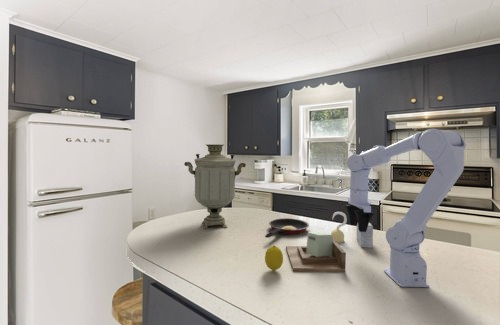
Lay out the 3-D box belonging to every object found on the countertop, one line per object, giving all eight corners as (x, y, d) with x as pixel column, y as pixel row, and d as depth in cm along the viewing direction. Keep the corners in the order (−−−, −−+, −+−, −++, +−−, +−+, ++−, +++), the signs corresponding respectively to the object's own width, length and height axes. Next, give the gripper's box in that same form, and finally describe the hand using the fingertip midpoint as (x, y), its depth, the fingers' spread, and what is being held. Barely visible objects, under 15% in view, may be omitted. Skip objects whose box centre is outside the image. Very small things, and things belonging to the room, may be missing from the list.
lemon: (271, 265, 83) (271, 241, 83) (286, 270, 79) (286, 245, 79) (261, 271, 79) (261, 245, 78) (276, 277, 75) (276, 250, 75)
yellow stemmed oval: (329, 240, 106) (330, 212, 105) (332, 237, 110) (333, 209, 110) (344, 243, 103) (345, 214, 102) (347, 239, 107) (348, 211, 107)
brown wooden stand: (345, 271, 79) (345, 252, 78) (293, 271, 79) (293, 252, 79) (328, 249, 97) (328, 233, 96) (286, 248, 97) (286, 233, 97)
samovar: (249, 218, 140) (250, 145, 138) (241, 233, 114) (241, 143, 112) (197, 215, 145) (197, 144, 143) (178, 230, 119) (177, 143, 117)
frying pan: (314, 228, 124) (314, 220, 123) (288, 249, 96) (288, 240, 96) (278, 222, 133) (278, 215, 133) (246, 240, 106) (246, 231, 106)
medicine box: (372, 248, 98) (373, 226, 98) (360, 247, 99) (361, 225, 99) (367, 241, 106) (368, 220, 105) (356, 240, 107) (356, 219, 106)
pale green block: (331, 255, 87) (333, 234, 88) (315, 257, 83) (316, 235, 84) (321, 252, 91) (322, 232, 92) (305, 253, 88) (306, 232, 88)
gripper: (381, 192, 81) (379, 235, 82) (361, 186, 96) (360, 222, 96) (358, 192, 81) (357, 234, 82) (342, 186, 96) (342, 222, 96)
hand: (357, 228), depth 89 cm, fingers open, 7 cm apart
